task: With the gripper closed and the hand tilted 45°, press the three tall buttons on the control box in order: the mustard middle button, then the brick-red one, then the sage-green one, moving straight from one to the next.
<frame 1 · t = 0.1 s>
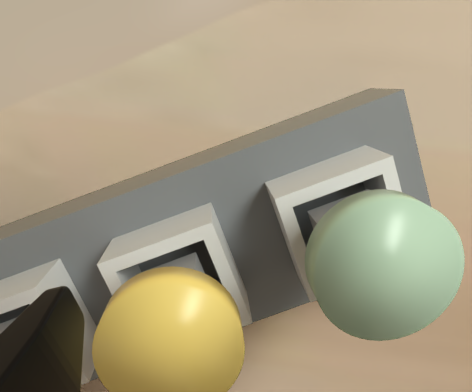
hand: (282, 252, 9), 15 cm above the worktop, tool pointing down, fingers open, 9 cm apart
button sage: (365, 248, 16), point 9 cm above the worktop, slide at 0.0 cm
control box: (185, 237, 25), on the worktop
button mustard: (174, 317, 16), point 9 cm above the worktop, slide at 0.0 cm
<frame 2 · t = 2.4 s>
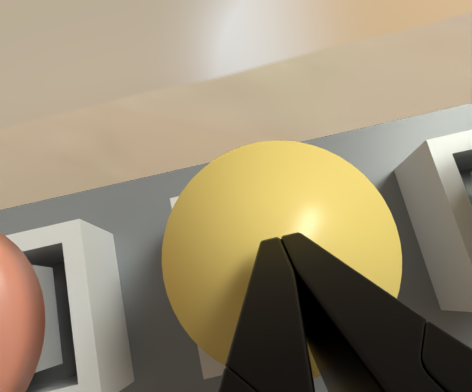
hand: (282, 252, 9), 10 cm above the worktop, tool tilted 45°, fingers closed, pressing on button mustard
control box: (267, 276, 19), on the worktop
button mustard: (275, 261, 11), point 8 cm above the worktop, slide at 1.1 cm, touching gripper
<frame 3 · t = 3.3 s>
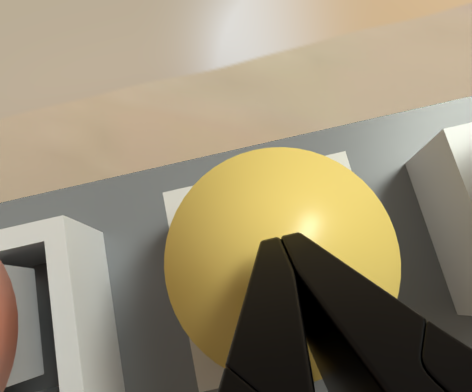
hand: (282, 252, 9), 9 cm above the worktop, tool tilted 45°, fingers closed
control box: (268, 278, 17), on the worktop
button mustard: (275, 265, 11), point 6 cm above the worktop, slide at 2.3 cm
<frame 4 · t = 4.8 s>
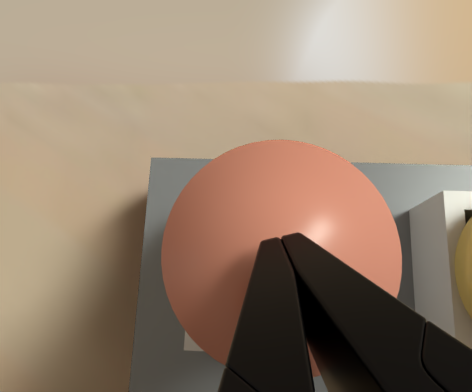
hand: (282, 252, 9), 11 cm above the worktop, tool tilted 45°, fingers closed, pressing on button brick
control box: (437, 283, 19), on the worktop
button brick: (274, 260, 11), point 9 cm above the worktop, slide at 0.0 cm, touching gripper
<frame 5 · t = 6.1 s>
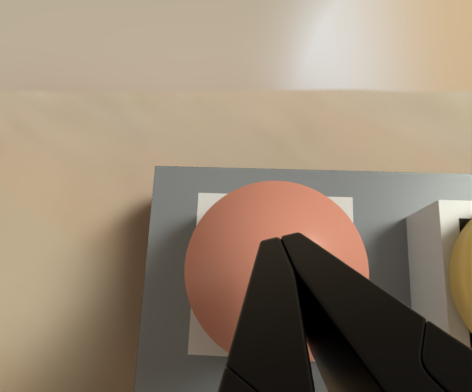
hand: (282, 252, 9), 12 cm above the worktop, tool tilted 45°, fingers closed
control box: (434, 288, 20), on the worktop
button brick: (272, 273, 14), point 6 cm above the worktop, slide at 2.3 cm
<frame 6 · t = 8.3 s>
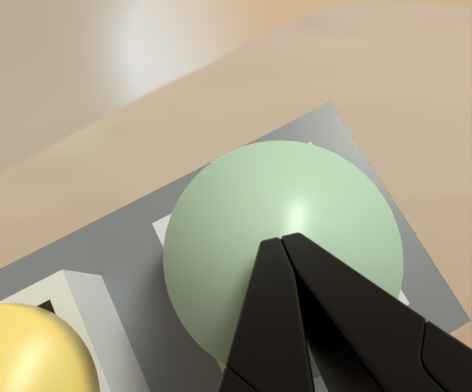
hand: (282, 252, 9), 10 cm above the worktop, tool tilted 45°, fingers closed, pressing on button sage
button sage: (276, 261, 11), point 7 cm above the worktop, slide at 1.6 cm, touching gripper
control box: (103, 363, 17), on the worktop
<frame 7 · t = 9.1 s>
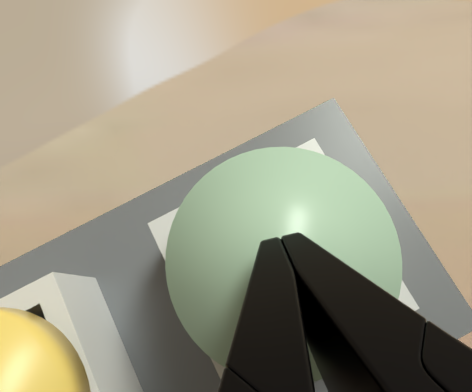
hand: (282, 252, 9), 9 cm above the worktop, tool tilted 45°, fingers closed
button sage: (276, 265, 11), point 6 cm above the worktop, slide at 2.3 cm
control box: (98, 369, 17), on the worktop
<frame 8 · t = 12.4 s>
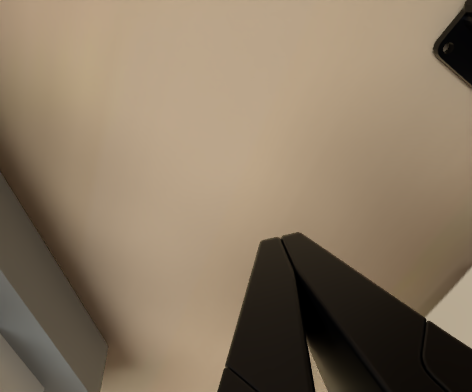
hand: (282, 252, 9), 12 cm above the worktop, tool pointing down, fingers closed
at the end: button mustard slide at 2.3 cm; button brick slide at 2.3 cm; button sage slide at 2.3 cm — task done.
